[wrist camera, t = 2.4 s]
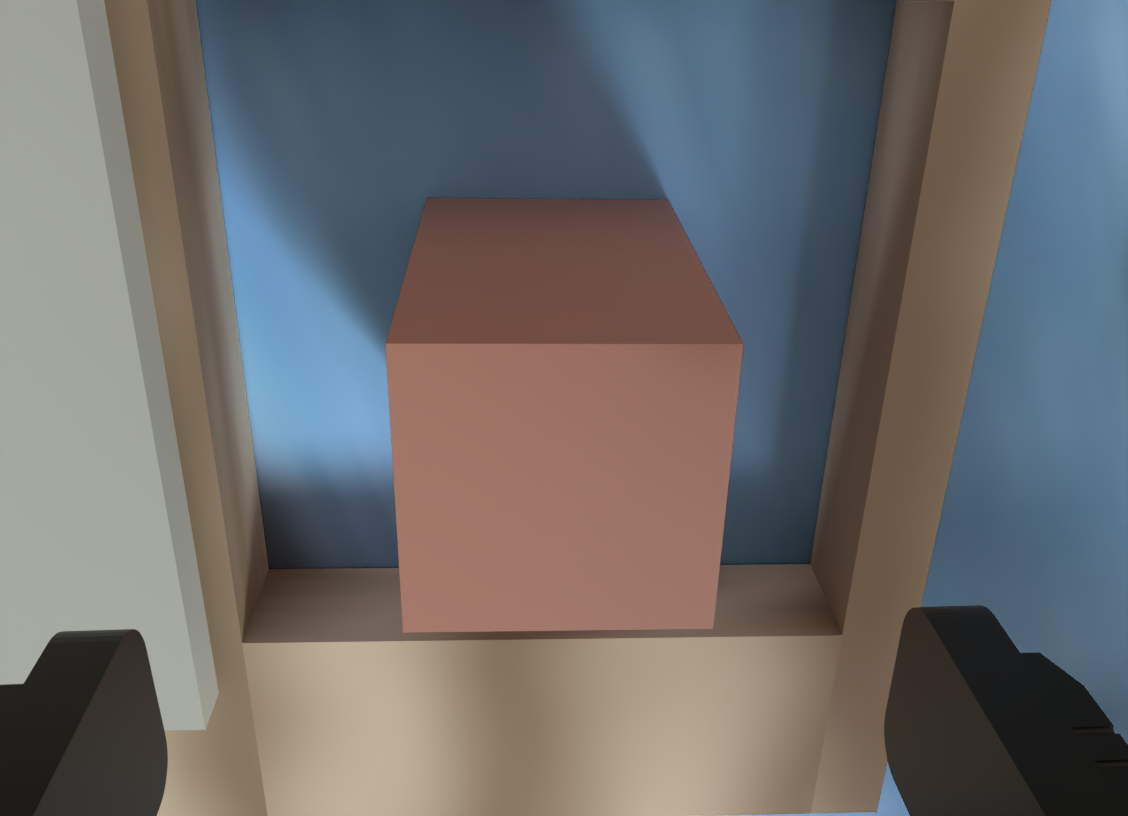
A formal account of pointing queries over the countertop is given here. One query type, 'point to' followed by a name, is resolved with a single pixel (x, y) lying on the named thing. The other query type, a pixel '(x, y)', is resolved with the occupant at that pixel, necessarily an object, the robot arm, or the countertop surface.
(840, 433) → the board
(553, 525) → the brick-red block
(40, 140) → the cover
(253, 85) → the countertop surface
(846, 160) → the countertop surface
